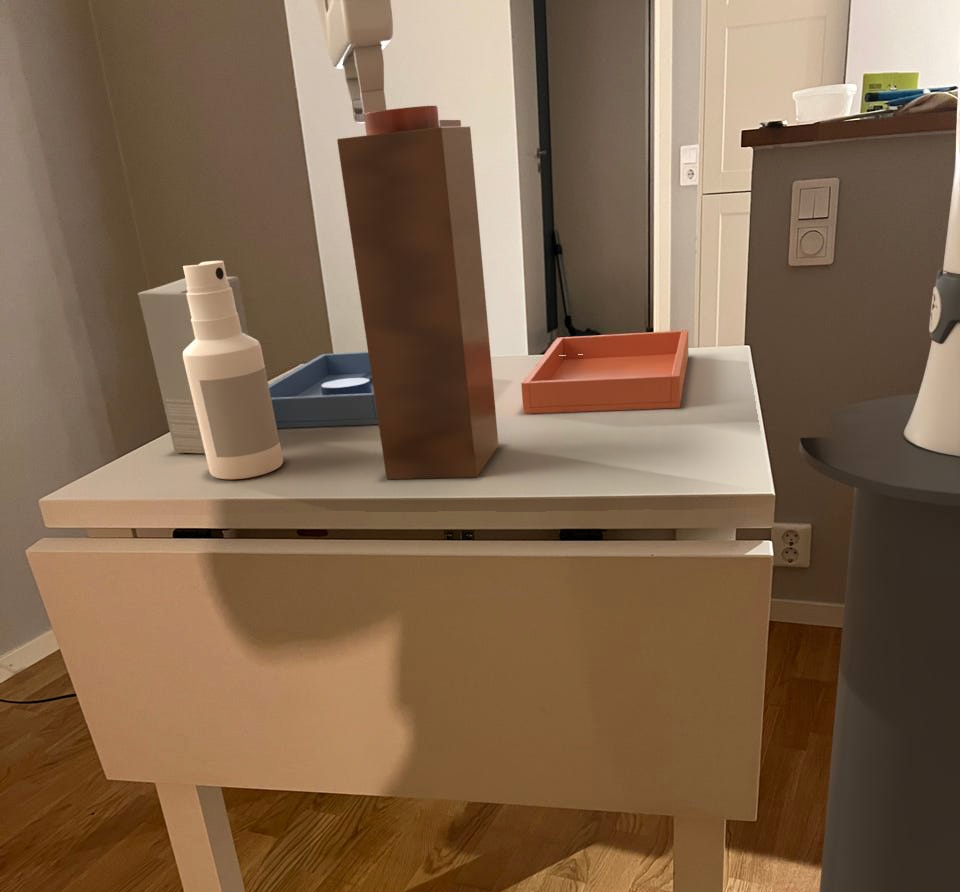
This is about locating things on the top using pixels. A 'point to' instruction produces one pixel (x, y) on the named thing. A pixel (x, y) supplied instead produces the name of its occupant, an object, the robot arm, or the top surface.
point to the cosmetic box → (177, 355)
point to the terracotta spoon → (405, 120)
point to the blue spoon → (348, 386)
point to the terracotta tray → (608, 373)
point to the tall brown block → (422, 298)
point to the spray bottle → (228, 381)
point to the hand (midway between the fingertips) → (369, 119)
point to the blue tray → (306, 405)
